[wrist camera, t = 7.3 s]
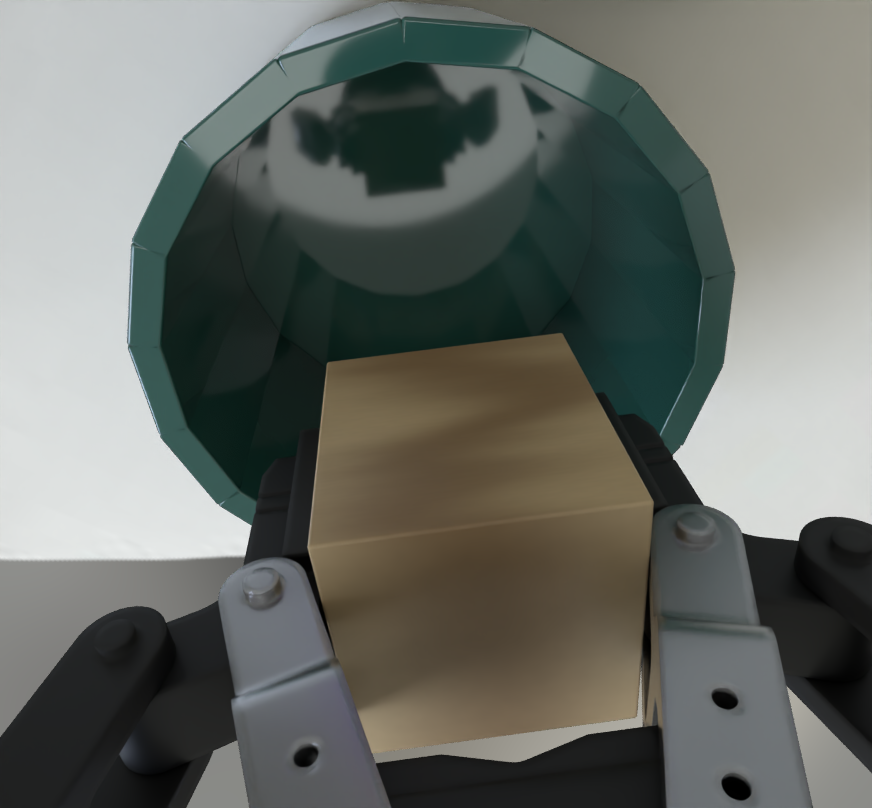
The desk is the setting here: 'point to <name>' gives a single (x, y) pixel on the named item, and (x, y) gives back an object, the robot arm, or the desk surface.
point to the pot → (419, 233)
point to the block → (478, 543)
